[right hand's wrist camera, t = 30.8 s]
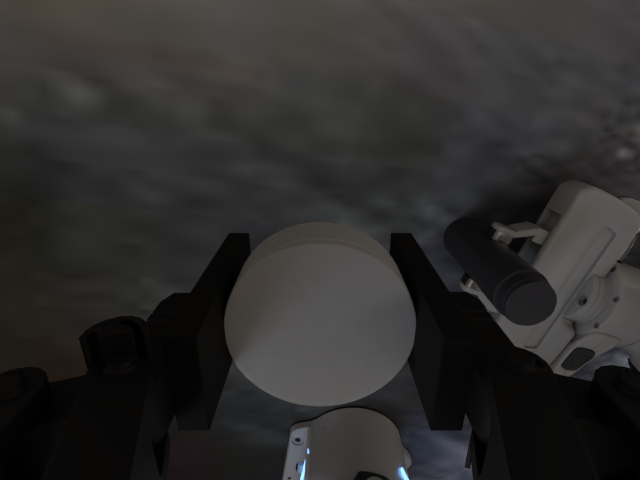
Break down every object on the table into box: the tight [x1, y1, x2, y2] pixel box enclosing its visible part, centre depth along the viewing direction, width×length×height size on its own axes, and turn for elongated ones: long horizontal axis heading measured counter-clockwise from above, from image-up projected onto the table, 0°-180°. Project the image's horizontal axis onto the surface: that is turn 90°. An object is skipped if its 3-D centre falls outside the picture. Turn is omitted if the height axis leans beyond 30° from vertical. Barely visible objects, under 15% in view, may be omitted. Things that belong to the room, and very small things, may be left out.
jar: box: [444, 218, 557, 326], centre depth 36 cm, size 5×5×15 cm
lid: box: [224, 222, 416, 406], centre depth 11 cm, size 6×6×2 cm
